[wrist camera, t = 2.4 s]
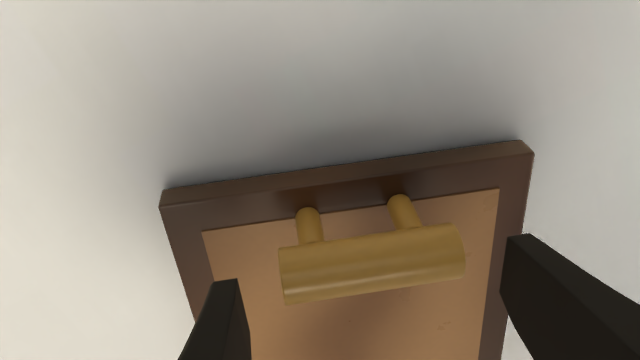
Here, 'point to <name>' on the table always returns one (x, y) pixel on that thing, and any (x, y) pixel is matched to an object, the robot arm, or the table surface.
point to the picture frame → (361, 253)
